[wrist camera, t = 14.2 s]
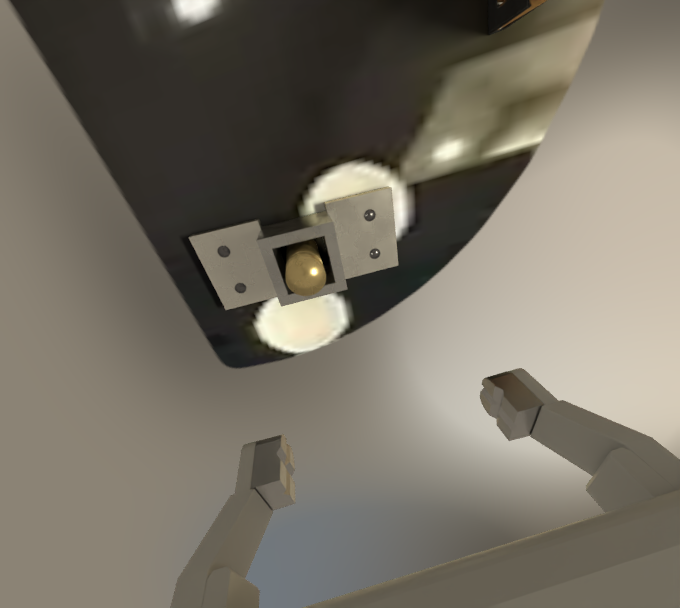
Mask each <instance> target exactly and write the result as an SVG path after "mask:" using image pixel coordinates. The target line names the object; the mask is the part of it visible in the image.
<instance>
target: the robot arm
mask: <svg viewBox="0 0 680 608" xmlns="http://www.w3.org/2000/svg"><path fill="white" fill-rule="evenodd" d="M482 385H483V386H484V388H483V390H482V391H481V392H480V399H481V402H482V405H483V407H484V408H485V410H486V411H487V413H488V414H489V415H490V416H492V417H494V418H496V419H497V426H498V427H499V428H500V430H501V431H502V432H503V434H504V435H505V436H506V438H507V439H508V440H509V441H511V440H514V439H518V438H522V437H526V436H530V435H531V437H532V438H533V439H535V440H537V441H538V442H540V443H541V444H543V445H545V446H546V447H548V448H549V449H551V450H553V451H554V452H556V453H557V454H559V455H560V456H562V457H563V458H565V459H567V460H568V461H570V462H571V463H573V464H575V465H577V466H578V467H579V468H581V469H583V470H584V471H586V472H587V473H589V474H590V475H592V476H593V477H592V478H591V480H590V481H589V483H588V484H587V485H586V491H587V492H588V493H589V494H590V495H591V497H592V498H593V499H594V500H595V501H596V502H597V503H598V505H599V506H600V507H601V508H602V509H603V510H604V511H605V513H603V514H600V515H597V516H594V517H591V518H587V519H584V520H581V521H577V522H574V523H571V524H568V525H565V526H561V527H559V528H555V529H552V530H549V531H546V532H543V533H539V534H536V535H533V536H530V537H526V538H523V539H520V540H517V541H514V542H510V543H508V544H504V545H501V546H498V547H495V548H492V549H488V550H485V551H482V552H479V553H475V554H472V555H469V556H466V557H463V558H460V559H456V560H453V561H450V562H447V563H444V564H441V565H437V566H434V567H431V568H428V569H424V570H421V571H418V572H415V573H412V574H408V575H405V576H402V577H399V578H396V579H392V580H389V581H386V582H383V583H380V584H377V585H374V586H370V587H367V588H364V589H361V590H358V591H354V592H351V593H348V594H345V595H342V596H339V597H335V598H332V599H329V600H326V601H323V602H319V603H316V604H313V605H310V606H306V607H303V608H680V459H678V458H677V457H676V456H674V455H673V454H672V453H671V452H669V451H668V450H667V449H666V448H664V447H663V446H662V445H661V444H659V443H658V442H657V441H656V440H654V439H653V438H651V437H649V436H647V435H644V434H642V433H640V432H637V431H635V430H632V429H630V428H628V427H625V426H623V425H621V424H618V423H616V422H613V421H611V420H608V419H606V418H604V417H602V416H599V415H597V414H594V413H592V412H590V411H587V410H585V409H583V408H580V407H578V406H575V405H573V404H571V403H568V402H566V401H563V400H562V401H558V400H557V399H556V398H555V397H554V396H553V395H552V394H551V393H550V392H548V391H547V390H546V389H545V388H544V387H543V386H542V385H541V384H540V383H539V382H537V381H536V380H535V379H534V378H533V377H532V376H531V375H530V374H529V373H528V372H526V371H525V370H524V369H522V368H519V369H515V370H512V371H508V372H503V373H500V374H497V375H493V376H490V377H487V378H484V379H483V381H482ZM294 471H295V465H294V457H293V452H292V449H291V447H290V445H288V444H286V438H285V436H284V434H283V435H279V436H275V437H272V438H267V439H264V440H260V441H256V442H252V443H248V444H245V445H244V446H243V448H242V450H241V457H240V462H239V469H238V476H237V482H236V488H235V494H233V495H231V496H230V497H229V499H228V500H227V502H226V503H225V505H224V506H223V508H222V510H221V511H220V513H219V514H218V516H217V518H216V519H215V521H214V523H213V524H212V526H211V527H210V529H209V530H208V532H207V533H206V535H205V537H204V538H203V540H202V541H201V543H200V545H199V546H198V548H197V549H196V551H195V553H194V554H193V556H192V557H191V559H190V560H189V562H188V564H187V565H186V567H185V569H184V570H183V572H182V573H181V575H180V576H179V578H178V580H177V584H176V588H175V591H174V595H173V599H172V603H171V607H170V608H259V593H260V591H259V590H258V588H257V587H256V586H255V585H253V584H252V583H250V582H249V581H247V580H246V579H245V577H246V575H247V572H248V570H249V568H250V565H251V563H252V561H253V559H254V556H255V554H256V551H257V549H258V546H259V544H260V542H261V539H262V537H263V535H264V533H265V530H266V528H267V525H268V523H269V521H270V518H271V516H272V514H273V510H276V509H280V508H283V507H286V506H289V505H292V504H295V482H294V481H293V479H292V477H291V476H292V475H293V473H294Z"/></svg>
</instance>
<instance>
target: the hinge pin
mask: <svg viewBox="0 0 680 608" xmlns="http://www.w3.org/2000/svg"><path fill="white" fill-rule="evenodd" d="M325 282H326V273H325V270H324V266H323V263H322V260H321V257H320V253H319V250H318V247H317V244H316V242H315V241H314V239H309V240H305V241H301V242H297V243H293V244H290V245H287V250H286V283H287V286H288V287H289V289H290V290H291V291H292V292H294V293H295V294H297V295H300V296H311V295H314V294H316V293H318V292H319V291H320V290H321V289H322V288H323V287H324V285H325Z"/></svg>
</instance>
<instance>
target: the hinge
mask: <svg viewBox="0 0 680 608" xmlns="http://www.w3.org/2000/svg"><path fill="white" fill-rule="evenodd" d="M324 204H325V208H326V211H323V212H319V213H315V214H311V215H307V216H303V217H299V218H295V219H290V220H286V221H282V222H278V223H274V224H270V225H266V226H261V223H260V220H259V218H258V219H254V220H250V221H245V222H241V223H237V224H233V225H229V226H225V227H221V228H217V229H213V230H209V231H205V232H201V233H196V234H192V235H191V236H190V237H188V238H189V240H190V242H191V243H192V245H193V247H194V249H195V251H196V253H197V255H198V257H199V259H200V261H201V263H202V265H203V267H204V269H205V271H206V272H207V274H208V276H209V278H210V280H211V282H212V284H213V286H214V288H215V290H216V292H217V294H218V296H219V298H220V300H221V302H222V303H223V305H224V307H225V309H226V310H228V309H232V308H236V307H240V306H243V305H247V304H251V303H255V302H259V301H263V300H267V299H270V298H274V297H278V299H279V302H280V304H281V306H285V305H289V304H293V303H296V302H300V301H304V300H308V299H312V298H316V297H319V296H323V295H327V294H331V293H335V292H339V291H342V290H346V289H347V285H346V280H345V279H348V278H351V277H355V276H359V275H363V274H367V273H371V272H375V271H378V270H382V269H386V268H390V267H394V266H398V256H397V244H396V233H395V222H394V210H393V199H392V188H391V187H384V188H380V189H376V190H372V191H368V192H364V193H360V194H356V195H352V196H348V197H343V198H339V199H335V200H331V201H327V202H324ZM321 236H322V238H323V242H324V246H325V251H326V255H327V259H328V263H329V264H327V265H324V270H325V273H326V282H325V285H324V287H323V288H322V289H321V290H320V291H319V292H318V293H316V294H314V295H311V296H300V295H297V294H295V293H294V292H292V291H291V290H290V289H289V287H288V286H287V283H286V266H285V263H284V260H283V257H282V254H281V251H280V248H279V247H282V246H286V245H290V244H293V243H297V242H301V241H305V240H309V239H313V238H317V237H321Z"/></svg>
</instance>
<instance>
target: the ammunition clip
mask: <svg viewBox="0 0 680 608" xmlns="http://www.w3.org/2000/svg"><path fill="white" fill-rule="evenodd" d="M546 1H547V0H488V34H489V35H491V34H494V33H496V32H499V31H501V30H504V29H506V28H507V27H509V26H510V25H512V24H513V23H515V22H516V21H518V20H519V19H521V18H522V17H524V16H525V15H527V14H528V13H529V12H531V11H532V10H534V9H535V8H537V7H538V6H540V5H541V4H543V3H544V2H546Z"/></svg>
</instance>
